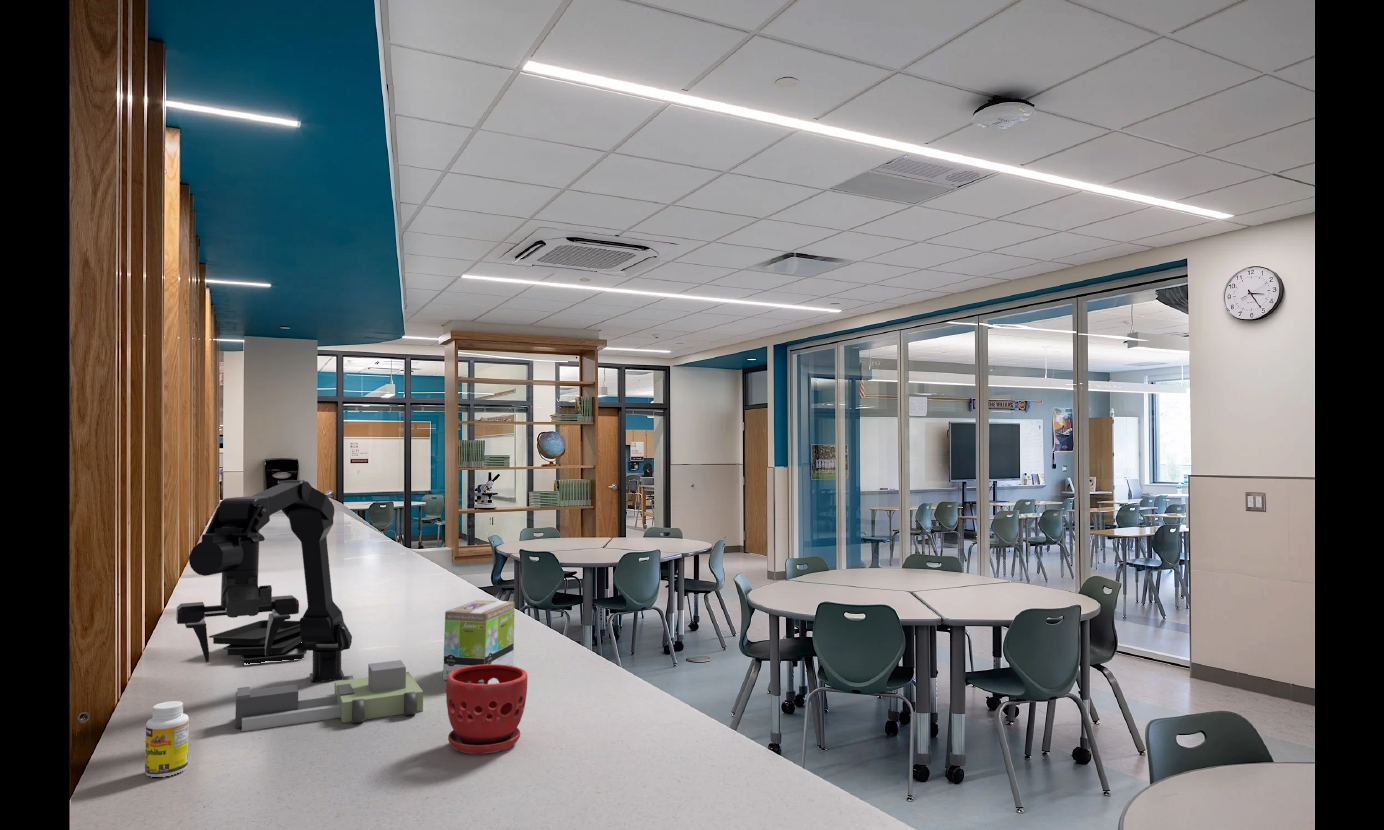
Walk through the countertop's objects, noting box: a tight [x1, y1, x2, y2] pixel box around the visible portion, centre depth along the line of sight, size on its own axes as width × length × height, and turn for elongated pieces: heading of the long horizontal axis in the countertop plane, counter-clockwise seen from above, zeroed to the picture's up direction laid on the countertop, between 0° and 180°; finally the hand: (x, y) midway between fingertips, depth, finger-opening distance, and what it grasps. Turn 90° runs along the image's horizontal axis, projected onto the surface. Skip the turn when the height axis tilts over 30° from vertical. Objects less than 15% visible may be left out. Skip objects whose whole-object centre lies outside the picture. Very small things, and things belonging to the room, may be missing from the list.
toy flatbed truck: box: [241, 659, 424, 732], centre depth 158 cm, size 22×30×8 cm
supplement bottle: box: [144, 700, 190, 778], centre depth 128 cm, size 6×6×10 cm
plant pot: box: [445, 664, 528, 755], centre depth 139 cm, size 13×13×12 cm
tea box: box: [442, 599, 515, 683], centre depth 184 cm, size 15×10×15 cm
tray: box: [208, 619, 308, 664], centre depth 205 cm, size 30×23×5 cm
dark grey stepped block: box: [234, 684, 299, 729], centre depth 152 cm, size 6×10×6 cm, turn 118°
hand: (237, 658), depth 147 cm, fingers open, 9 cm apart
